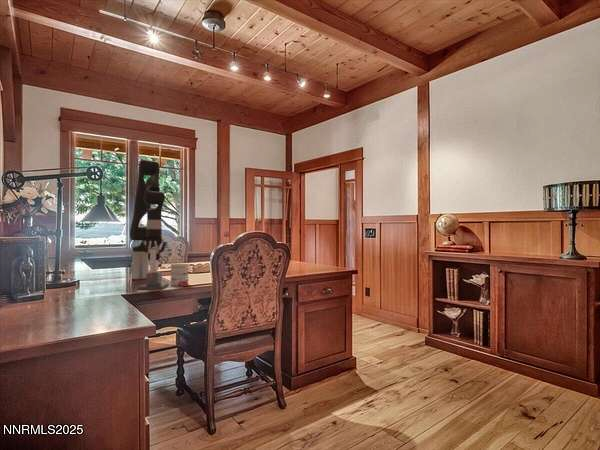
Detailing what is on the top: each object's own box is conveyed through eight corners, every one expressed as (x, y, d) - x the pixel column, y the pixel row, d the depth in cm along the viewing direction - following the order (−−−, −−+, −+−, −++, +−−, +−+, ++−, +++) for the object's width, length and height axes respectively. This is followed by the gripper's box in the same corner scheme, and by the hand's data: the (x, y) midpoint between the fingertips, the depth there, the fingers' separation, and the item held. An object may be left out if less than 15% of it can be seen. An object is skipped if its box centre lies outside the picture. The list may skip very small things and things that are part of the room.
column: (149, 277, 185) (149, 248, 185) (151, 276, 188) (151, 247, 188) (156, 277, 185) (156, 248, 185) (158, 276, 188) (158, 247, 188)
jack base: (138, 289, 180) (138, 274, 180) (146, 285, 192) (146, 271, 192) (161, 289, 181) (162, 274, 181) (168, 285, 193) (168, 271, 193)
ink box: (188, 284, 198) (188, 263, 198) (184, 285, 193) (185, 264, 193) (174, 283, 199) (174, 263, 199) (170, 285, 194) (170, 264, 194)
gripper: (169, 228, 191) (169, 259, 191) (143, 228, 190) (142, 259, 190) (165, 228, 183) (165, 261, 183) (138, 228, 182) (137, 261, 182)
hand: (153, 260), depth 187 cm, fingers closed on column, 3 cm apart
